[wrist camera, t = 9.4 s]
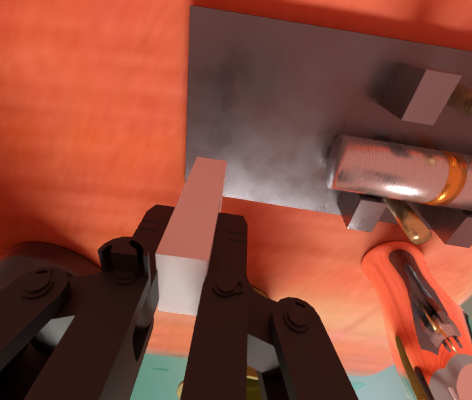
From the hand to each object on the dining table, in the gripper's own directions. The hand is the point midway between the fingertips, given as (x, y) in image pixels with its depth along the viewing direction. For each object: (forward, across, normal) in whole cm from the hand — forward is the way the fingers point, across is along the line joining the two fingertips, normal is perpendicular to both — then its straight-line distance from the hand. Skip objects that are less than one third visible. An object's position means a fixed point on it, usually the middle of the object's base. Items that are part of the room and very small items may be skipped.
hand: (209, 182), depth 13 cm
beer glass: (+10, +20, -12) cm, 25 cm away
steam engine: (+10, +10, 0) cm, 14 cm away
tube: (+8, +16, 0) cm, 18 cm away
